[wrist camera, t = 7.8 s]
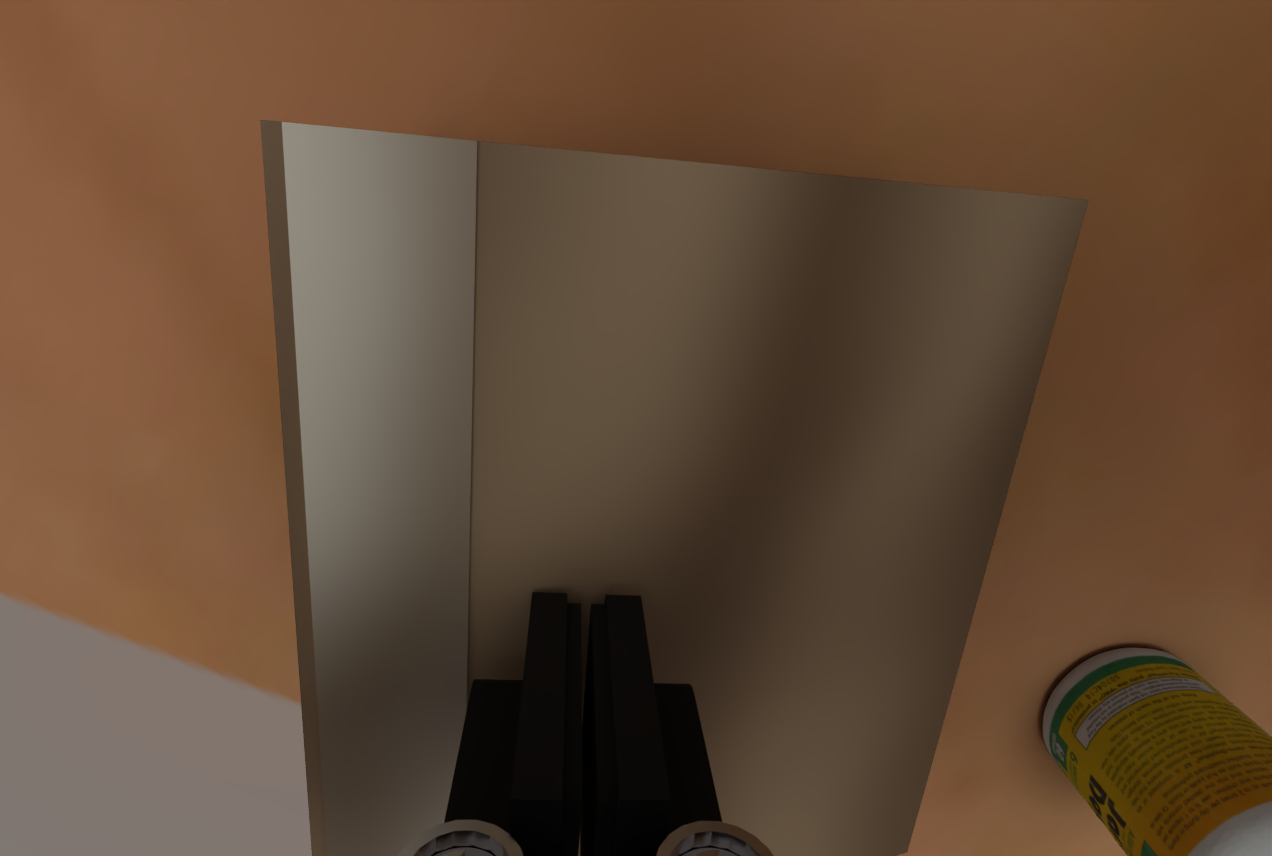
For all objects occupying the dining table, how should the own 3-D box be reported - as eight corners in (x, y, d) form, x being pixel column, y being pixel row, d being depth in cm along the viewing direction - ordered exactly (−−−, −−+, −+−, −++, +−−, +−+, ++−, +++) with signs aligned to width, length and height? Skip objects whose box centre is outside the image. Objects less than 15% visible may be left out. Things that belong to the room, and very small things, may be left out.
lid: (1061, 197, 13) (1093, 200, 12) (892, 834, 18) (910, 855, 17) (263, 120, 8) (260, 119, 8) (324, 1012, 13) (325, 1049, 12)
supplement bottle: (1218, 701, 26) (1551, 990, 17) (1090, 793, 27) (1340, 1109, 18) (1136, 610, 25) (1454, 875, 16) (1004, 711, 26) (1229, 1012, 17)
